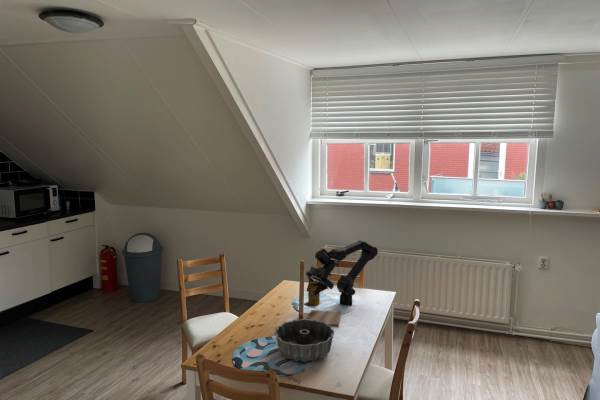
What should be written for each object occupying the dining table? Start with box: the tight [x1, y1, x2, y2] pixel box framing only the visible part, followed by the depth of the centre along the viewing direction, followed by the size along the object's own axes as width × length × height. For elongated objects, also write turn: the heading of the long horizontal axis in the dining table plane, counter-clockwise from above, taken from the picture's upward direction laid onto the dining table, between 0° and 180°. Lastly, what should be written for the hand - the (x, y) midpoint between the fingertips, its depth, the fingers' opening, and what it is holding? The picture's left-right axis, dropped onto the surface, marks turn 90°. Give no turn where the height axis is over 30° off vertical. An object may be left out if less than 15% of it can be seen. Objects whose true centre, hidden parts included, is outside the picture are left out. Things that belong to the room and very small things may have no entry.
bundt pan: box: [274, 318, 335, 362], centre depth 196 cm, size 26×26×10 cm
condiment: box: [302, 281, 323, 309], centre depth 236 cm, size 7×8×12 cm
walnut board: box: [307, 309, 342, 328], centre depth 231 cm, size 16×16×1 cm
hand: (310, 292), depth 236 cm, fingers closed on condiment, 6 cm apart
